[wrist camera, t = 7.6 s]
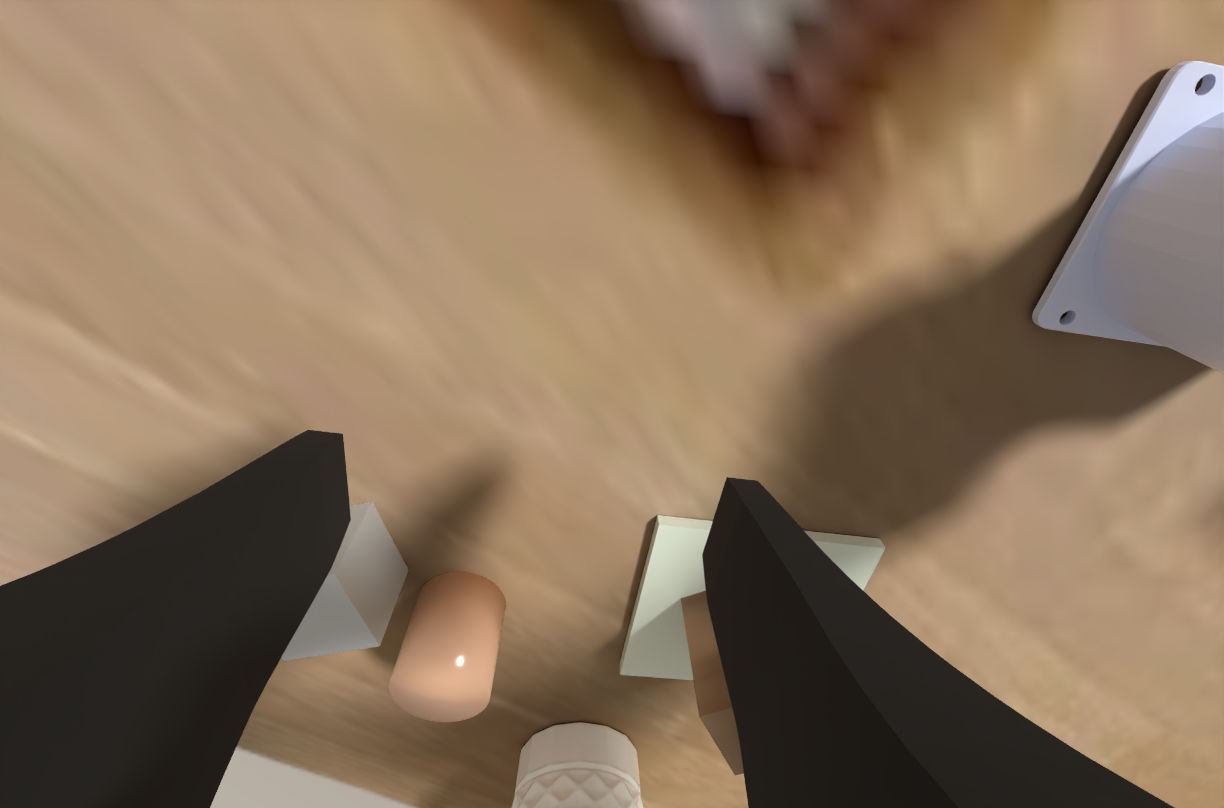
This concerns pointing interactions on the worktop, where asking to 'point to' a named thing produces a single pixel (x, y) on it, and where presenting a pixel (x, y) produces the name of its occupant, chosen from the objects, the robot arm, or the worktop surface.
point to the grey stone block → (353, 592)
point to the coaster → (680, 573)
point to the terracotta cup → (450, 649)
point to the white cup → (578, 769)
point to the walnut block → (710, 680)
